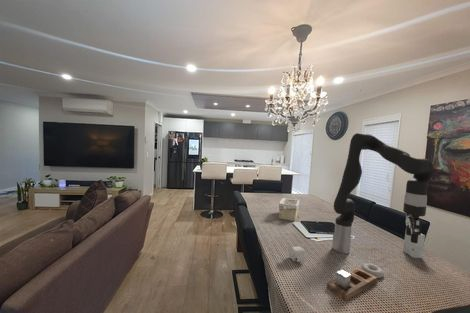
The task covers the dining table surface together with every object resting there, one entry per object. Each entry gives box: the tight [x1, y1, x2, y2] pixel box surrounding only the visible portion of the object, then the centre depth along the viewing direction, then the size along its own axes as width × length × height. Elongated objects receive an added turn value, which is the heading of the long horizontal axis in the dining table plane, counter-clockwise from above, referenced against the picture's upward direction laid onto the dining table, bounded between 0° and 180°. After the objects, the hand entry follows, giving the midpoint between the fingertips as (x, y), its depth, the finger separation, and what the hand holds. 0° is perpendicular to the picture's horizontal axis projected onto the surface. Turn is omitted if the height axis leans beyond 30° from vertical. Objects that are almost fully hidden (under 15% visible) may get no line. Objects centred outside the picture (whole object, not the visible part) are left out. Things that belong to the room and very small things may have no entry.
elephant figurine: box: [287, 243, 307, 263], centre depth 118 cm, size 10×12×9 cm
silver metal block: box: [335, 269, 351, 291], centre depth 93 cm, size 4×4×8 cm
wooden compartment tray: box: [326, 267, 378, 302], centre depth 98 cm, size 9×26×3 cm, turn 121°
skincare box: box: [402, 230, 426, 259], centre depth 129 cm, size 8×6×15 cm
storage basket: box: [278, 197, 300, 222], centre depth 191 cm, size 24×16×15 cm
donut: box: [360, 262, 385, 279], centre depth 109 cm, size 10×4×10 cm
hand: (411, 238), depth 92 cm, fingers open, 8 cm apart
